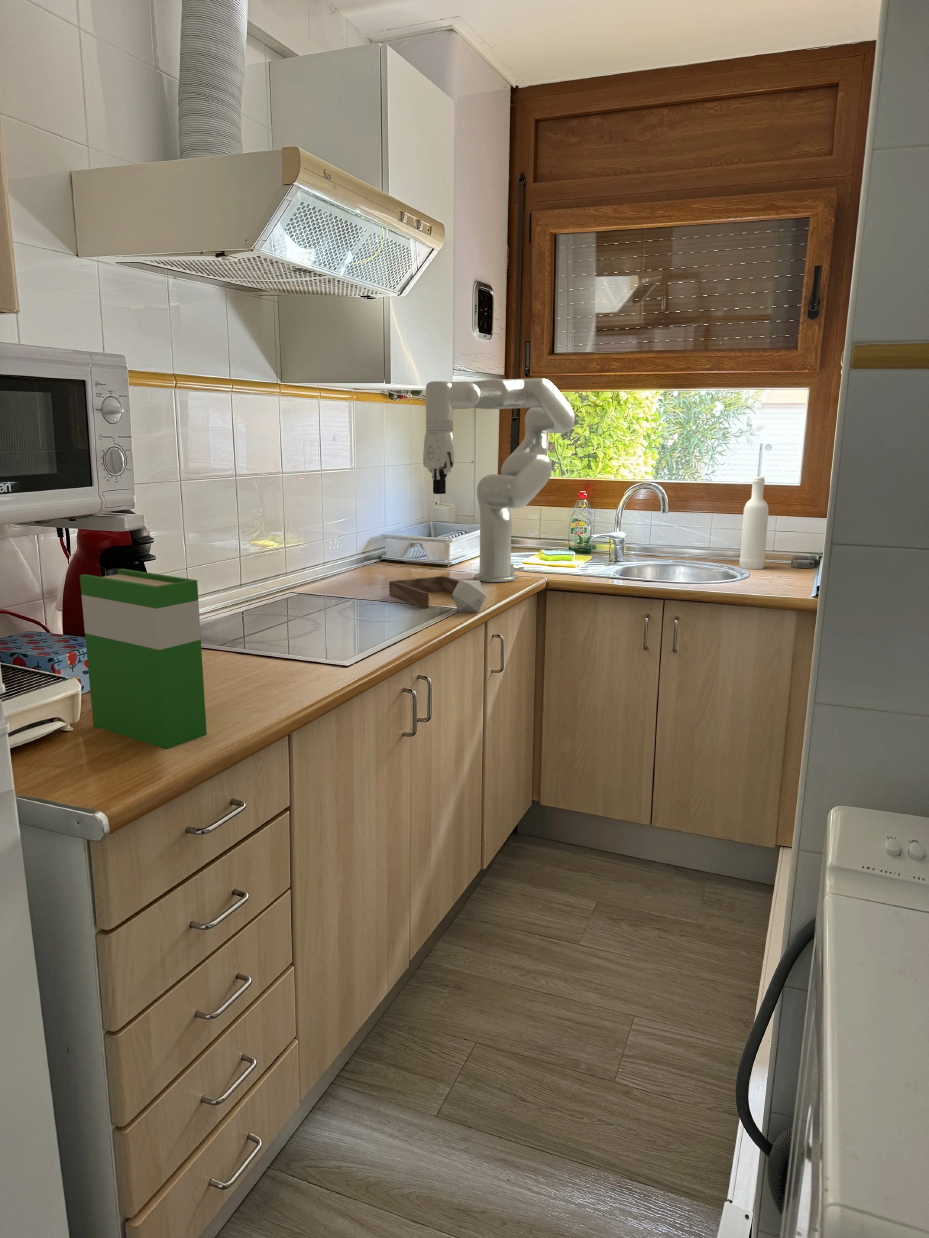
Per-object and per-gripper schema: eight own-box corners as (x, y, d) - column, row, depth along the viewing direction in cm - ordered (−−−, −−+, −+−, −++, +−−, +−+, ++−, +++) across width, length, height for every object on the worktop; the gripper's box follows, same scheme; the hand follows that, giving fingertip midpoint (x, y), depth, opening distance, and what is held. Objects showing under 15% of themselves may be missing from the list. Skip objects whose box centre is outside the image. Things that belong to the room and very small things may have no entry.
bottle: (746, 565, 299) (753, 476, 292) (768, 567, 294) (775, 477, 287) (734, 567, 293) (741, 476, 287) (757, 570, 288) (764, 478, 282)
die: (471, 618, 218) (492, 586, 219) (442, 600, 219) (464, 568, 220) (473, 623, 226) (494, 592, 227) (446, 605, 227) (466, 574, 228)
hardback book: (93, 726, 138) (79, 575, 132) (134, 713, 144) (122, 568, 139) (166, 749, 128) (154, 587, 123) (206, 734, 134) (197, 580, 129)
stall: (443, 589, 251) (443, 575, 251) (481, 601, 235) (481, 587, 234) (389, 595, 243) (389, 581, 242) (424, 608, 226) (424, 593, 225)
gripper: (414, 427, 248) (415, 492, 252) (441, 427, 236) (441, 496, 240) (437, 427, 252) (437, 491, 256) (465, 427, 240) (464, 495, 244)
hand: (439, 493), depth 248 cm, fingers closed
